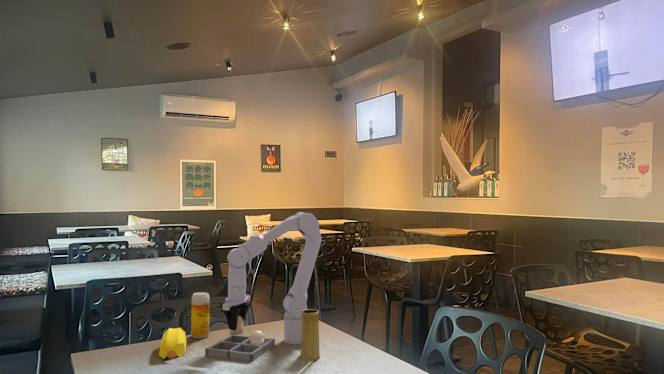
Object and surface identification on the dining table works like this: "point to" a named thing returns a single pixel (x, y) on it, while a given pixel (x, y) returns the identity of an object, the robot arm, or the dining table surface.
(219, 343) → the gray compartment tray
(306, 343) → the vase
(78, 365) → the dining table surface
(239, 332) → the brown egg
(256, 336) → the cream egg
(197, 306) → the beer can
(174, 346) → the yellow banana
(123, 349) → the dining table surface
